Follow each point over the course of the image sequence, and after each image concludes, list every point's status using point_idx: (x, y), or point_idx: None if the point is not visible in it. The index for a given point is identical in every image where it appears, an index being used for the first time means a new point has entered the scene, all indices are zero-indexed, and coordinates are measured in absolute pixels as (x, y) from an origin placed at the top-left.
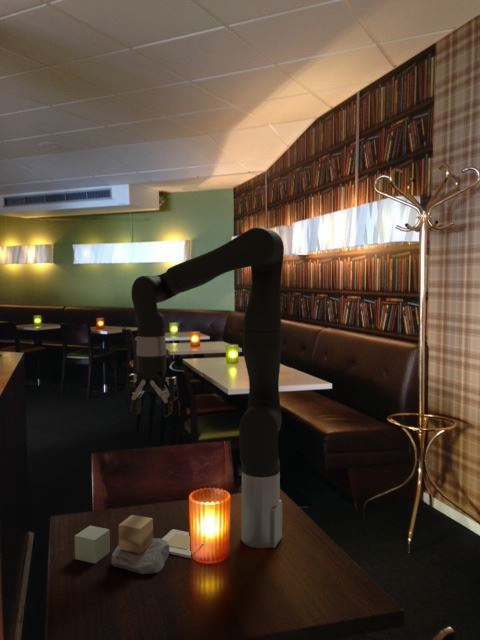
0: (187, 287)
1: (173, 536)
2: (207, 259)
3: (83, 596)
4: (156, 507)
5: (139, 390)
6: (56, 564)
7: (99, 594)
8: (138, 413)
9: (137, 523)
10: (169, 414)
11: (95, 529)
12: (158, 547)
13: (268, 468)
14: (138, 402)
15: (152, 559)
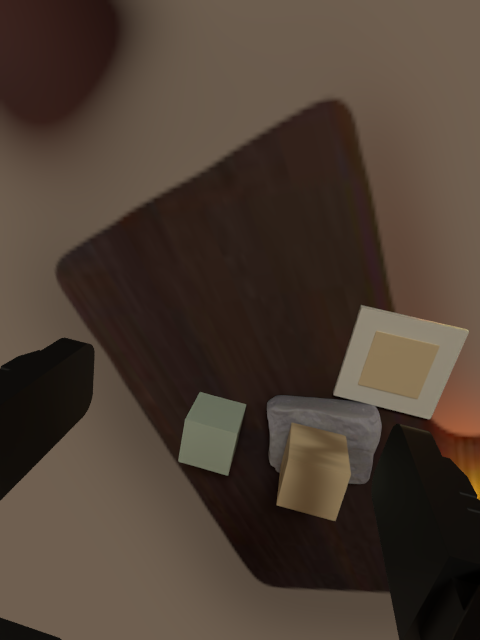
0: None
1: (373, 346)
2: None
3: (262, 523)
4: (273, 162)
5: None
6: (171, 448)
7: (285, 519)
8: (90, 386)
9: (319, 498)
10: (426, 435)
11: (206, 435)
12: (365, 457)
13: None
14: (12, 458)
15: (359, 479)
